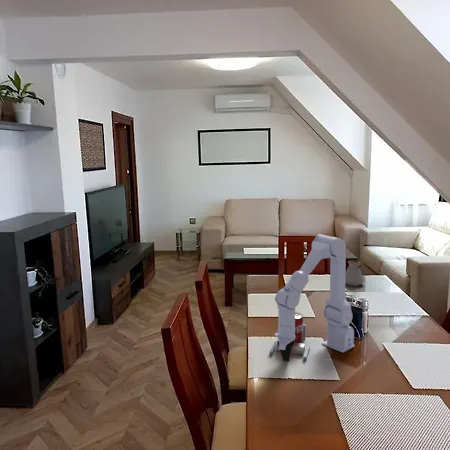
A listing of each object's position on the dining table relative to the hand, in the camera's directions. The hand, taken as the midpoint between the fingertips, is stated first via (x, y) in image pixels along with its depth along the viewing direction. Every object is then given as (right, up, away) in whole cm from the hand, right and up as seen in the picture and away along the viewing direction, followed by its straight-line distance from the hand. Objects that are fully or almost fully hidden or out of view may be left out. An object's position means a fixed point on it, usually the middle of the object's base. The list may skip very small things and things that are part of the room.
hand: (285, 359), depth 144 cm
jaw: (+2, 0, +6) cm, 6 cm away
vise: (+4, +1, +12) cm, 13 cm away
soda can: (+5, +1, +14) cm, 15 cm away
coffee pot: (+50, +13, +82) cm, 97 cm away
